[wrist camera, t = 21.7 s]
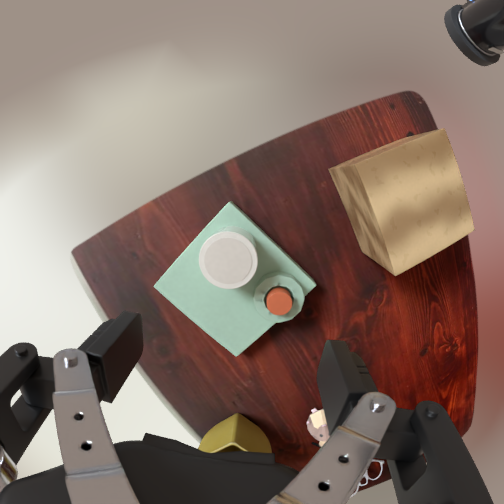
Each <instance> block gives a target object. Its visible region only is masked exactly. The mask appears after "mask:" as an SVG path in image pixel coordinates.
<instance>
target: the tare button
mask: <svg viewBox="0 0 504 504" xmlns="http://www.w3.org/2000/svg"><path fill="white" fill-rule="evenodd" d="M266 300H267V308H268V310H269V311H270V312H271V313H272V314H274V315H284V314H286V313H288V312H289V311H290V309H291V307H292V299H291V295H290V293H289V292H288V291H287V290H286V289H284V288H281V287H278V288H274V289H272V290H271V291H270V292H269V293H268V295H267V299H266Z"/></svg>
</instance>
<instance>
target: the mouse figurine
mask: <svg viewBox="0 0 504 504" xmlns="http://www.w3.org/2000/svg"><path fill="white" fill-rule="evenodd" d="M311 411H312V414H311V415H310V416H309V418H308V421H307V423H306V424H307V427H308V430H309V432H310V433H311V435H312V436H313V437H314V438H315V439H316V440H318V441H320V442H319V445H320V446H321V447H322V446H323V445H324V443H325V442H326V441H327V440H328V438H329V437H330V435H329V431H328V426H327V422H326V418H325V413H324V409H322V410H317V409H316V408H314V409H312V410H311Z"/></svg>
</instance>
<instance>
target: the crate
mask: <svg viewBox="0 0 504 504" xmlns="http://www.w3.org/2000/svg"><path fill="white" fill-rule="evenodd" d="M328 170H329V172H330V174H331V177H332V179H333V181H334V183H335V186H336V188H337V190H338V193H339V195H340V197H341V200H342V202H343V204H344V207H345V209H346V212H347V214H348V217H349V219H350V222H351V224H352V227H353V229H354V232H355V235H356V237H357V240H358V243H359V245H360V248H361V251H362V252H363V253H364V254H366V255H367V256H369V257H370V258H371V259H373V260H374V261H376V262H377V263H378V264H380V265H381V266H382V267H384V268H385V269H386V270H388V271H389V272H391V273H392V274H393V275H395V276H397V275H399V274H400V273H402V272H404V271H406V270H408V269H410V268H412V267H413V266H415V265H417V264H419V263H420V262H422V261H424V260H426V259H428V258H429V257H431V256H433V255H434V254H436V253H438V252H440V251H441V250H443V249H445V248H446V247H448V246H450V245H451V244H453V243H455V242H456V241H458V240H460V239H461V238H463V237H464V236H466V235H468V234H469V233H471V232H472V231H474V225H473V220H472V215H471V211H470V207H469V203H468V199H467V195H466V191H465V188H464V184H463V181H462V177H461V174H460V171H459V167H458V164H457V161H456V158H455V155H454V153H453V150H452V147H451V144H450V142H449V139H448V136H447V134H446V131H445V129H444V128H443V129H438V130H434V131H430V132H426V133H422V134H418V135H414V136H410V137H407V138H403V139H400V140H397V141H395V142H392V143H390V144H387V145H385V146H382V147H380V148H377V149H375V150H372V151H370V152H368V153H365V154H363V155H360V156H358V157H356V158H353V159H351V160H349V161H346V162H344V163H342V164H339V165H337V166H335V167H332V168H330V169H328Z"/></svg>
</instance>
